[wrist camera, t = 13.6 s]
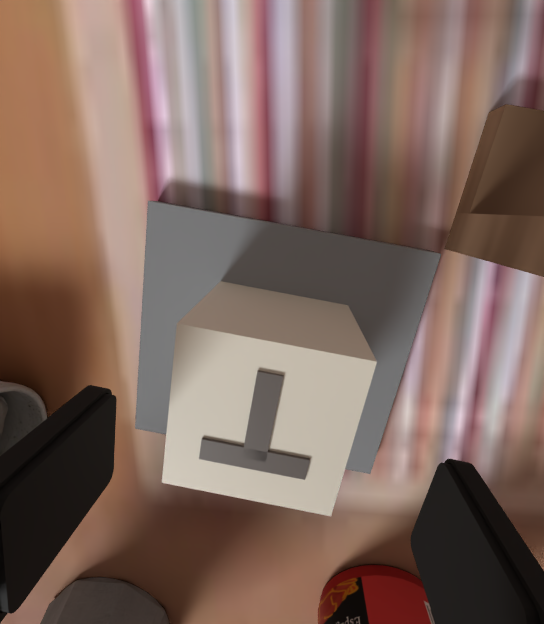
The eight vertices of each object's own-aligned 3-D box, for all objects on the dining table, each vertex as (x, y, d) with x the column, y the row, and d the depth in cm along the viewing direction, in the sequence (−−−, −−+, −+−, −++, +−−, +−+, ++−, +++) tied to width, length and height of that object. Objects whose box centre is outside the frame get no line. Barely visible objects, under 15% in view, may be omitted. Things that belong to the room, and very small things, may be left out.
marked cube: (348, 305, 16) (377, 363, 10) (319, 415, 17) (331, 518, 12) (220, 281, 16) (175, 324, 10) (205, 392, 18) (160, 484, 12)
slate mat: (432, 251, 16) (441, 254, 15) (366, 460, 19) (370, 473, 18) (156, 201, 16) (148, 200, 15) (143, 417, 20) (135, 428, 19)
